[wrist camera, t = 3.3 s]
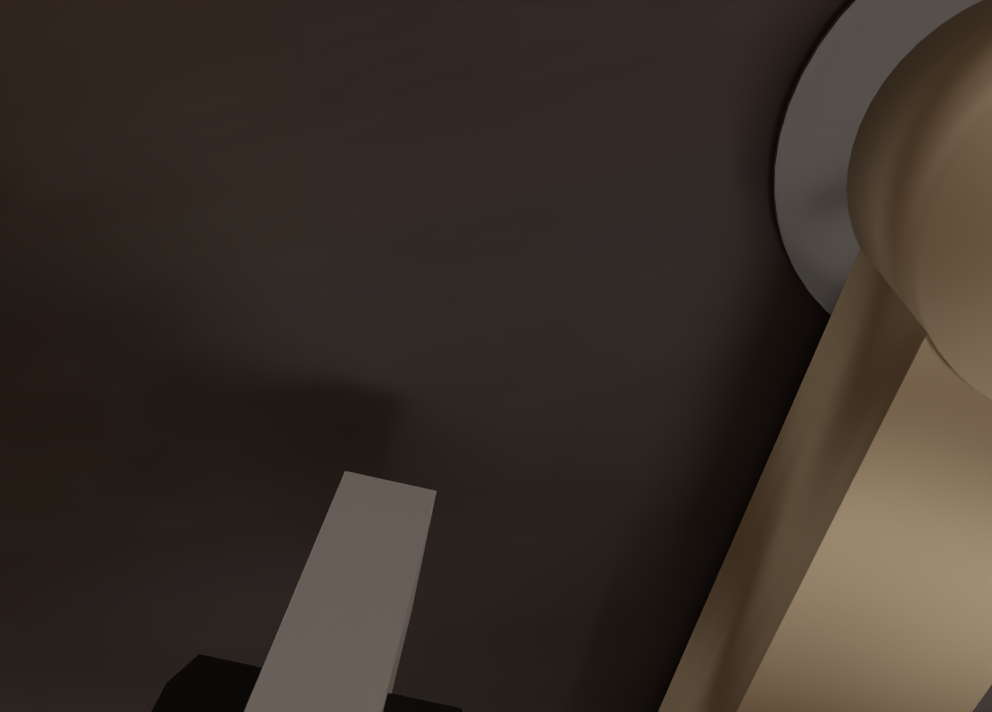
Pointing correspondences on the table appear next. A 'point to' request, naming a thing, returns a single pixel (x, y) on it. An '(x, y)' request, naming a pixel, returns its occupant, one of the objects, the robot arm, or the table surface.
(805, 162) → the pivot plate
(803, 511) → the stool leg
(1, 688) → the table surface
